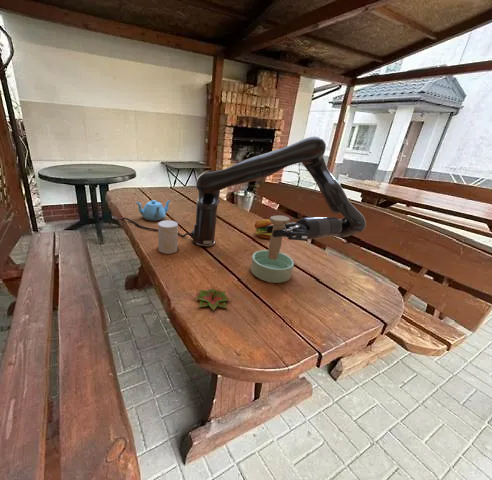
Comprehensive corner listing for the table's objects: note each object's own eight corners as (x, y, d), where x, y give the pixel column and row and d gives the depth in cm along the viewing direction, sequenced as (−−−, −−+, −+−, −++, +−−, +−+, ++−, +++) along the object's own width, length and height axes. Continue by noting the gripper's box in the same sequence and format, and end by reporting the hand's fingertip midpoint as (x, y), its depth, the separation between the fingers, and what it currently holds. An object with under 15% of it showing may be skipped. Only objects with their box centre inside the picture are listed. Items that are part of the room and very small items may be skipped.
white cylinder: (162, 254, 110) (161, 228, 105) (156, 246, 116) (155, 221, 111) (180, 251, 113) (180, 226, 108) (173, 244, 120) (173, 219, 115)
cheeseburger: (267, 241, 130) (266, 221, 127) (250, 239, 138) (249, 220, 135) (279, 236, 136) (278, 217, 133) (262, 234, 144) (261, 216, 141)
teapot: (150, 212, 159) (149, 195, 154) (172, 216, 154) (172, 199, 150) (135, 219, 146) (135, 201, 142) (159, 224, 141) (159, 206, 137)
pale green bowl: (249, 280, 96) (251, 265, 94) (250, 260, 110) (252, 247, 108) (292, 286, 94) (296, 272, 92) (288, 266, 108) (291, 253, 106)
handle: (284, 260, 91) (292, 219, 85) (268, 263, 88) (276, 221, 82) (275, 254, 95) (283, 214, 89) (261, 256, 92) (267, 216, 86)
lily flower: (229, 290, 89) (230, 278, 88) (233, 313, 79) (234, 301, 77) (194, 288, 89) (194, 277, 87) (193, 311, 78) (193, 299, 76)
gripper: (302, 211, 96) (261, 213, 91) (330, 225, 84) (283, 228, 79) (298, 230, 99) (258, 233, 94) (324, 246, 87) (279, 251, 82)
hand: (270, 231), depth 86 cm, fingers closed on handle, 3 cm apart
